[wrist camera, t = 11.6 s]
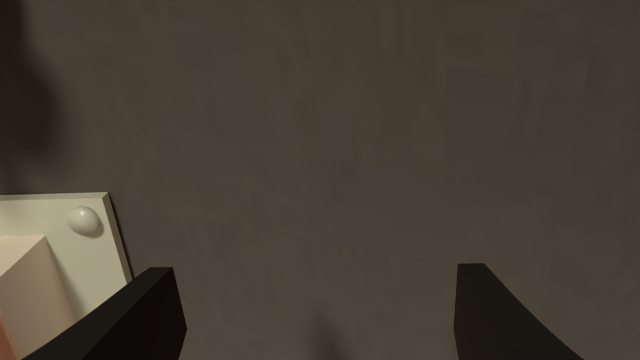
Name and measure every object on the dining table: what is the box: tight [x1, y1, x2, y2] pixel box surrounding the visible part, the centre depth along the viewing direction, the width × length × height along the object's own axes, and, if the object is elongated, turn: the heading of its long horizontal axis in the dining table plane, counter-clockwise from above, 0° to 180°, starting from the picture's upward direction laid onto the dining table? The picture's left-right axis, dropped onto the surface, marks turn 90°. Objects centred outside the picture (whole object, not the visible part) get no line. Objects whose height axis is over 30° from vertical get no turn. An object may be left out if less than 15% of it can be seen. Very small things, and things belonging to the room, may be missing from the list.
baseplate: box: [0, 192, 132, 322], centre depth 26 cm, size 12×12×1 cm
